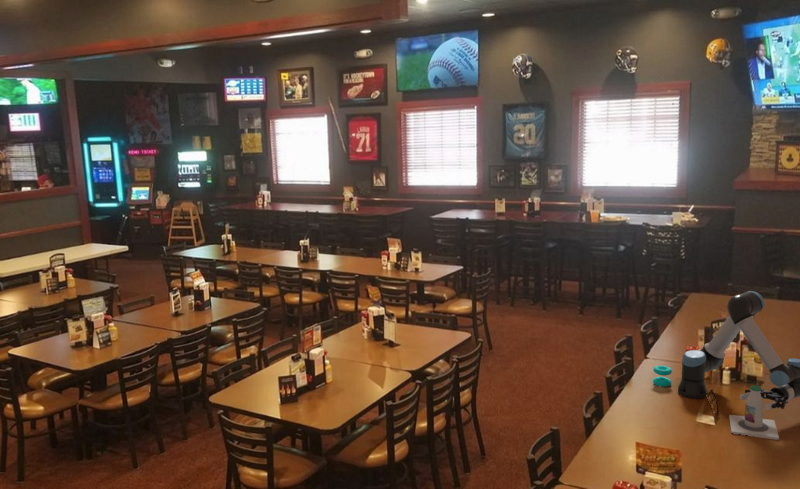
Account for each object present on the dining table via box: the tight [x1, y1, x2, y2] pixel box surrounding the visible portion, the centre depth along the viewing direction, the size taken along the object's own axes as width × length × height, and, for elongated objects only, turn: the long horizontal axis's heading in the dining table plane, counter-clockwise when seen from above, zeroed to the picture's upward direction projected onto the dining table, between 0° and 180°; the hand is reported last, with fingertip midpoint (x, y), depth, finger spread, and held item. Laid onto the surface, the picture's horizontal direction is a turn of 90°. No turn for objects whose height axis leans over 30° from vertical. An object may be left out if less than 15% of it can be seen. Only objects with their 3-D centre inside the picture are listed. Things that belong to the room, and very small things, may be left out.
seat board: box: [728, 414, 780, 441], centre depth 322 cm, size 20×20×1 cm
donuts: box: [652, 365, 673, 388], centre depth 379 cm, size 10×10×10 cm
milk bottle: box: [744, 384, 765, 428], centre depth 320 cm, size 8×8×20 cm
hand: (753, 402), depth 319 cm, fingers open, 13 cm apart
